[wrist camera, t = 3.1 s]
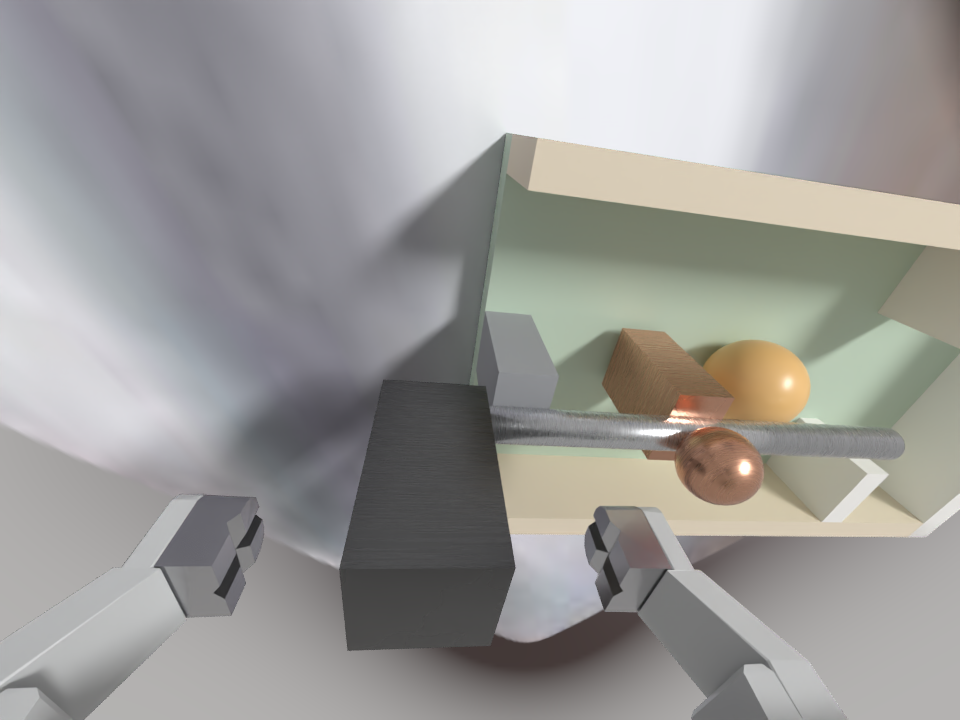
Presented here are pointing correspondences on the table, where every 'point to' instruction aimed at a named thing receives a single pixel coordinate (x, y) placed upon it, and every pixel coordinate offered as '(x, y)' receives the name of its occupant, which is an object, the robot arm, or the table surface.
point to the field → (722, 332)
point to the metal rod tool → (479, 494)
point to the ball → (760, 380)
